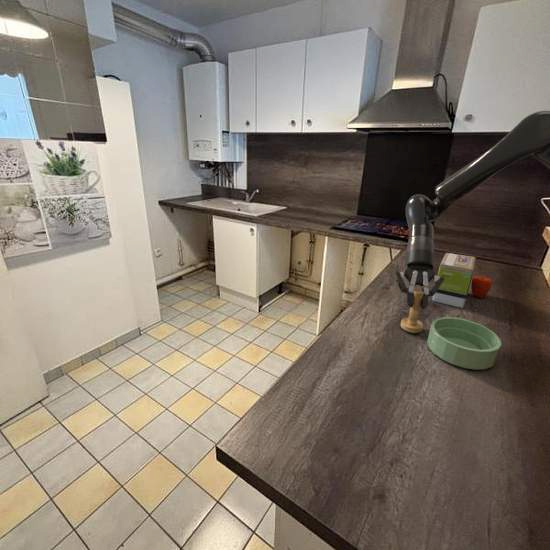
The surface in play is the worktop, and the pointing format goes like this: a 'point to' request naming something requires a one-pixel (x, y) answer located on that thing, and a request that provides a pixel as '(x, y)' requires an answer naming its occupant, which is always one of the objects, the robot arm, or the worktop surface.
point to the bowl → (463, 343)
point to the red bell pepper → (480, 286)
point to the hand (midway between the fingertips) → (417, 307)
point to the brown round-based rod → (414, 314)
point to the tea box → (454, 279)
